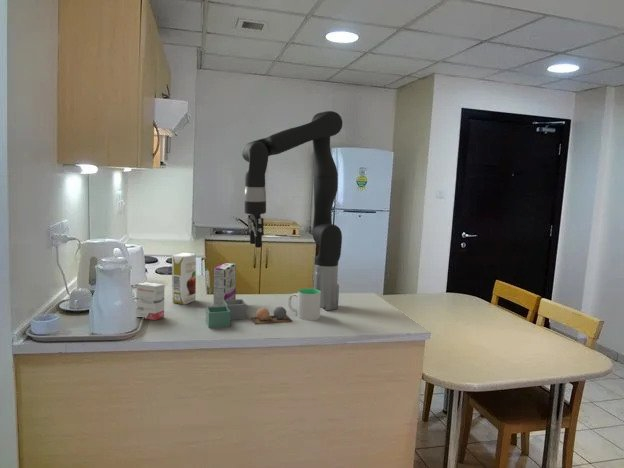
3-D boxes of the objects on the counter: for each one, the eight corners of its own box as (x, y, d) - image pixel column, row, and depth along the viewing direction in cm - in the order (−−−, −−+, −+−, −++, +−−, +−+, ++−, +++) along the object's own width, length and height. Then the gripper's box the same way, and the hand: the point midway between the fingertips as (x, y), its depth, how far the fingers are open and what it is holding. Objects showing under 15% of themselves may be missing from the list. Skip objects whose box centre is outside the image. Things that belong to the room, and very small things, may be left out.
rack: (286, 318, 172) (286, 314, 171) (292, 324, 165) (292, 320, 165) (250, 321, 167) (250, 316, 167) (255, 327, 161) (255, 322, 160)
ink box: (165, 316, 168) (165, 283, 167) (156, 320, 164) (156, 286, 162) (144, 313, 171) (144, 281, 170) (135, 317, 166) (135, 284, 165)
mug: (283, 319, 170) (284, 291, 169) (291, 313, 178) (292, 286, 177) (315, 324, 167) (316, 295, 165) (322, 317, 174) (323, 290, 173)
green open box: (226, 322, 164) (226, 305, 163) (230, 329, 158) (230, 311, 157) (205, 324, 162) (205, 307, 161) (208, 330, 155) (208, 312, 155)
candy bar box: (223, 303, 188) (224, 262, 186) (235, 304, 187) (236, 263, 185) (212, 311, 177) (212, 267, 175) (225, 312, 176) (225, 268, 174)
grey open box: (242, 315, 174) (242, 299, 173) (246, 320, 167) (246, 304, 166) (222, 316, 171) (223, 300, 170) (226, 322, 165) (226, 305, 164)
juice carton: (169, 302, 186) (169, 254, 184) (182, 297, 194) (183, 251, 192) (185, 305, 183) (185, 256, 181) (198, 300, 191) (198, 253, 189)
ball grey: (284, 317, 170) (284, 304, 169) (287, 320, 166) (288, 308, 165) (271, 317, 168) (272, 305, 168) (275, 321, 164) (275, 309, 164)
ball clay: (267, 318, 168) (267, 305, 167) (270, 322, 164) (271, 309, 163) (254, 319, 166) (255, 306, 166) (257, 323, 162) (258, 310, 162)
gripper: (270, 201, 162) (271, 248, 164) (261, 198, 175) (261, 242, 177) (248, 201, 159) (249, 249, 161) (240, 198, 173) (241, 243, 175)
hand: (255, 245), depth 169 cm, fingers open, 8 cm apart
